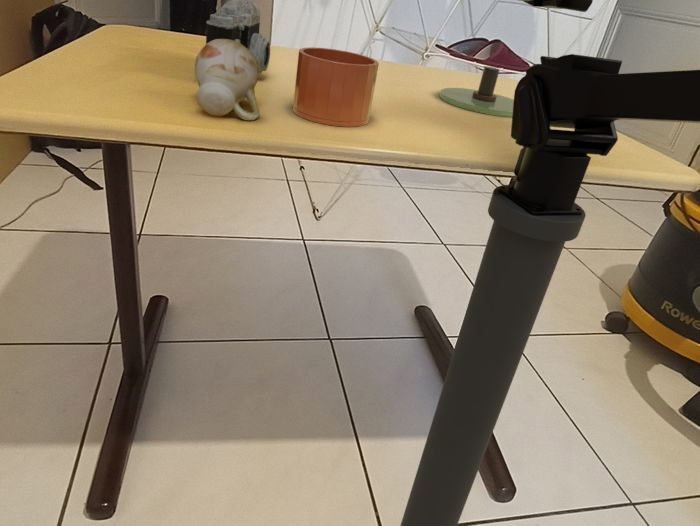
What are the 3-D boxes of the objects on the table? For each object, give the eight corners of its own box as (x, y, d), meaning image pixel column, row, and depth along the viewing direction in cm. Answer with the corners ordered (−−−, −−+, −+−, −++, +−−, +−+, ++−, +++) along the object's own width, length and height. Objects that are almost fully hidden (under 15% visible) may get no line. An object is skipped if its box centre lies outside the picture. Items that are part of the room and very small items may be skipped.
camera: (250, 91, 73) (256, 9, 68) (200, 82, 73) (202, -1, 68) (274, 72, 86) (280, 2, 81) (231, 64, 86) (234, -7, 81)
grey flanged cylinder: (500, 103, 89) (508, 71, 86) (480, 101, 87) (488, 69, 85) (487, 96, 92) (495, 66, 89) (467, 95, 90) (475, 64, 88)
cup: (380, 128, 67) (391, 68, 64) (305, 124, 64) (312, 60, 60) (352, 106, 75) (361, 52, 71) (284, 102, 71) (290, 44, 68)
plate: (544, 119, 87) (545, 114, 86) (467, 114, 82) (469, 108, 81) (494, 95, 98) (495, 91, 98) (424, 89, 93) (425, 84, 92)
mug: (180, 119, 59) (172, 23, 59) (210, 137, 68) (204, 55, 68) (249, 112, 58) (242, 16, 58) (270, 132, 68) (264, 49, 68)
